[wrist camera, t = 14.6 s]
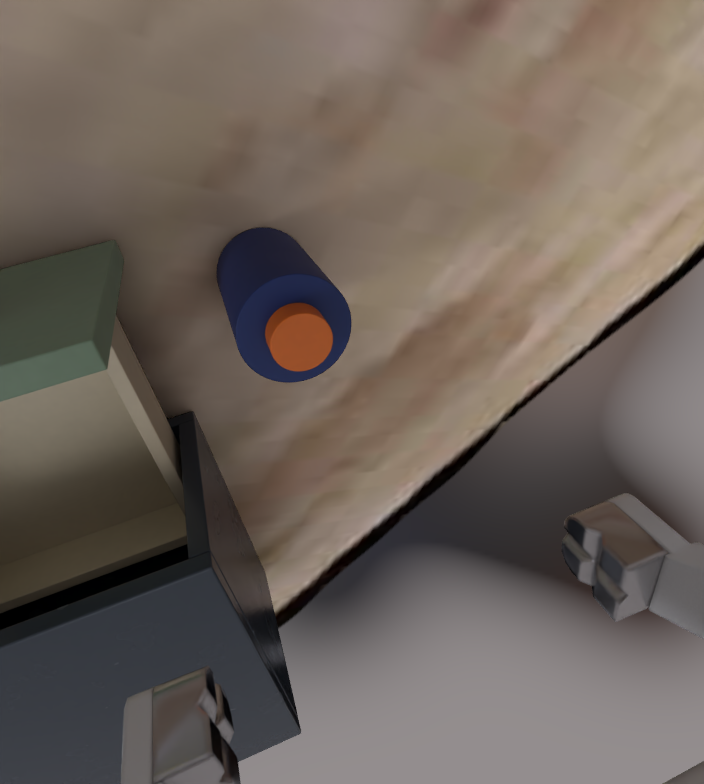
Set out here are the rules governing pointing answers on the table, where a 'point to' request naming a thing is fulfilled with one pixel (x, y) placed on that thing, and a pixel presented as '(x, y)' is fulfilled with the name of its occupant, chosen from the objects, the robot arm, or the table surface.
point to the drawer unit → (145, 643)
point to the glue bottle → (281, 306)
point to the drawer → (77, 432)
